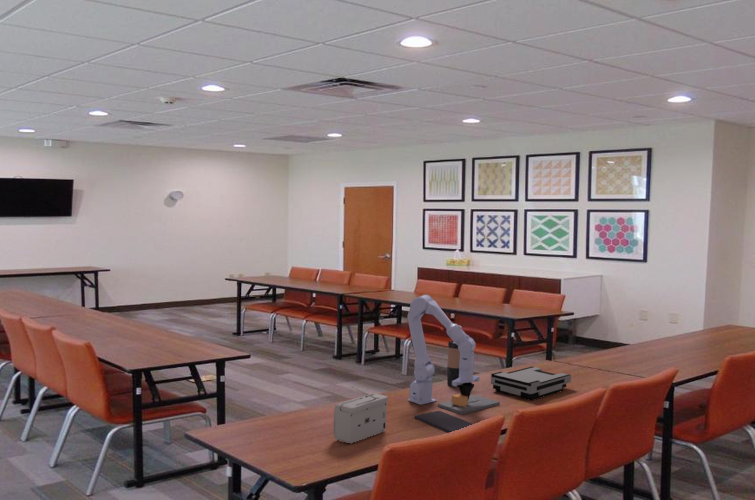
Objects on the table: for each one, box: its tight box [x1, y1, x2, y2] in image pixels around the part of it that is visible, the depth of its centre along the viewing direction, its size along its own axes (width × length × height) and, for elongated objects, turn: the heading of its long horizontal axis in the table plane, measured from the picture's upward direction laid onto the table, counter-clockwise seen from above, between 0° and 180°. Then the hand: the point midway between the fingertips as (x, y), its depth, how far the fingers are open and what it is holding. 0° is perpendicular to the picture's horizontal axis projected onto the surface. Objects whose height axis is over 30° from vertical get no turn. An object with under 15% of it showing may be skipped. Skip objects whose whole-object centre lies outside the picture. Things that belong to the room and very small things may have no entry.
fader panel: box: [437, 394, 500, 415], centre depth 279 cm, size 23×13×1 cm, turn 130°
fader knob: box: [451, 393, 468, 407], centre depth 275 cm, size 4×5×3 cm
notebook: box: [414, 410, 473, 433], centre depth 255 cm, size 13×2×21 cm
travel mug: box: [446, 340, 460, 388], centre depth 310 cm, size 8×8×20 cm
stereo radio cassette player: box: [333, 386, 389, 444], centre depth 237 cm, size 21×8×20 cm, turn 141°
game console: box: [490, 366, 572, 401], centre depth 305 cm, size 21×32×8 cm, turn 133°
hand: (465, 400), depth 277 cm, fingers closed
